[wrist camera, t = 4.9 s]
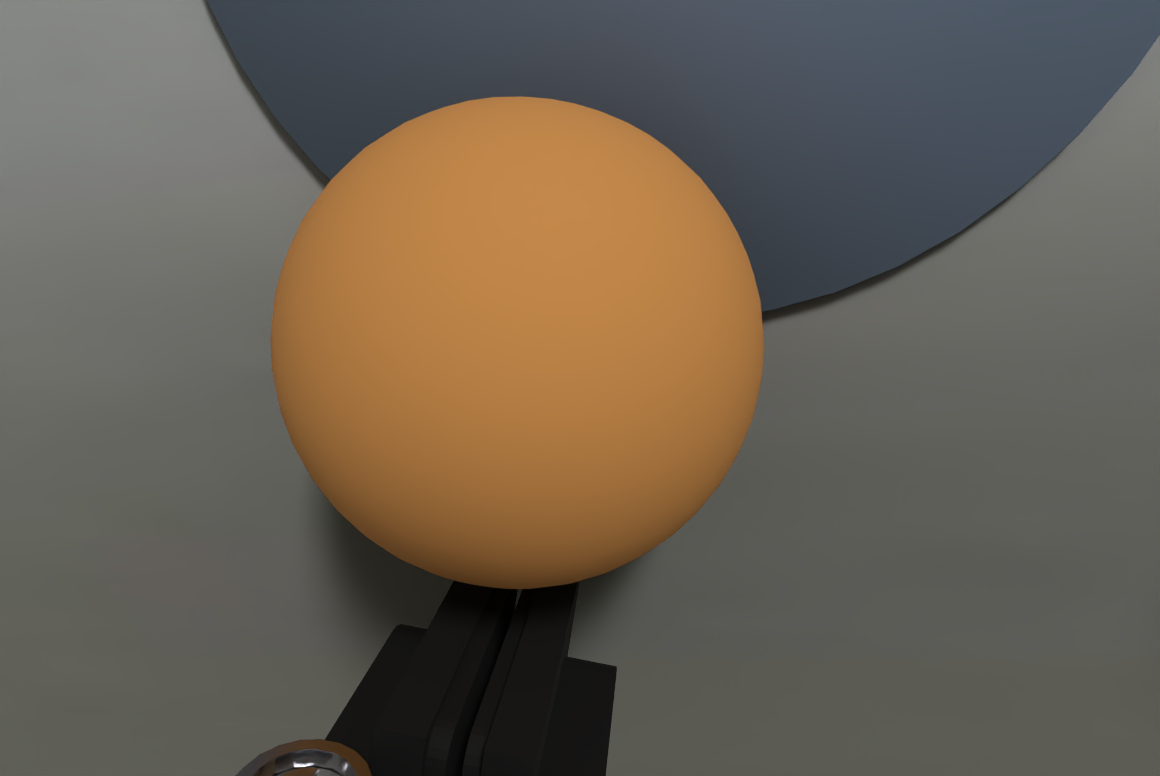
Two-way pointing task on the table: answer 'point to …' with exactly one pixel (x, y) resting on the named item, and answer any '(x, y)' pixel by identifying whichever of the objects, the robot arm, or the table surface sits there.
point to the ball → (517, 342)
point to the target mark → (734, 99)
